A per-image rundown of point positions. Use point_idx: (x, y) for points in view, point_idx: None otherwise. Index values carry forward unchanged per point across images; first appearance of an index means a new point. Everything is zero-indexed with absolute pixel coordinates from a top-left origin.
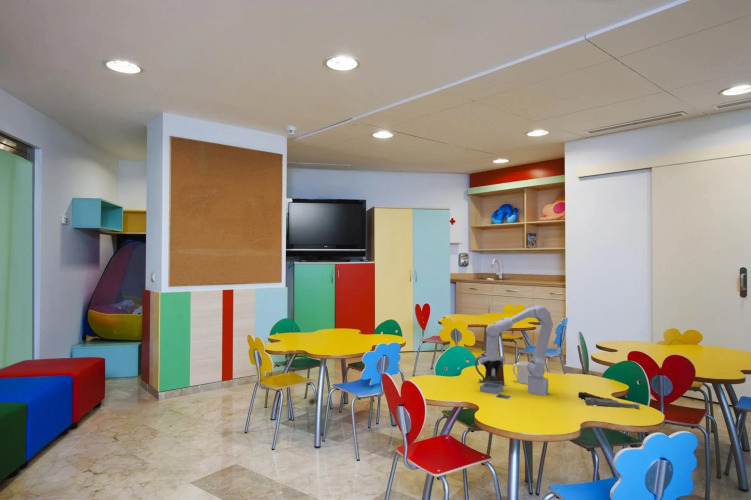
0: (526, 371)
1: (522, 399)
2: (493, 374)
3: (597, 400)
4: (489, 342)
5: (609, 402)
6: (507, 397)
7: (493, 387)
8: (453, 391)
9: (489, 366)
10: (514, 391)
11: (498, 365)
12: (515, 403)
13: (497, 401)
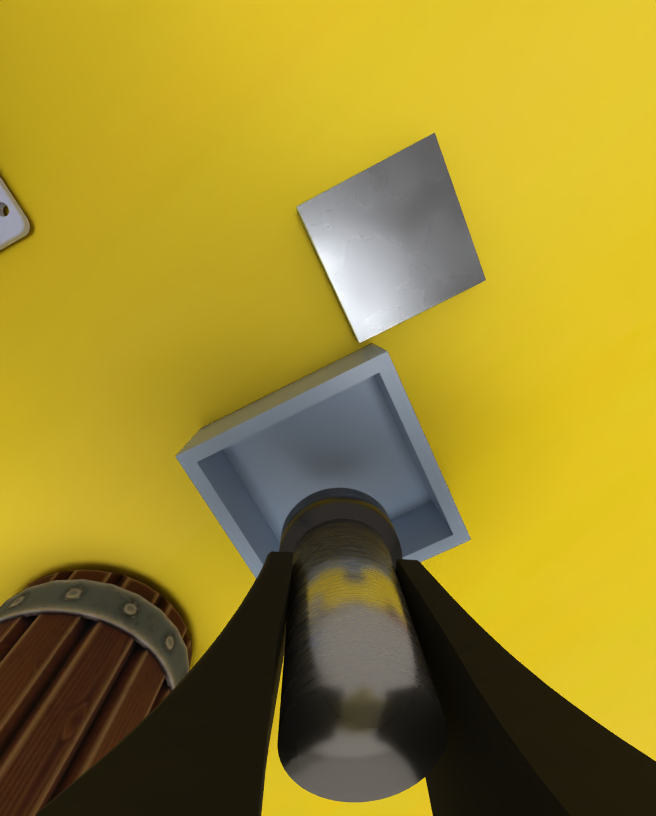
0: None
1: (211, 106)
2: (369, 562)
3: None
4: None
5: None
6: (385, 189)
7: (256, 522)
8: (586, 623)
9: (641, 753)
10: (63, 397)
11: (220, 750)
12: (421, 22)
13: (528, 203)
